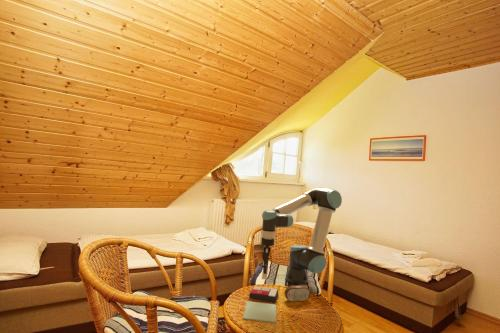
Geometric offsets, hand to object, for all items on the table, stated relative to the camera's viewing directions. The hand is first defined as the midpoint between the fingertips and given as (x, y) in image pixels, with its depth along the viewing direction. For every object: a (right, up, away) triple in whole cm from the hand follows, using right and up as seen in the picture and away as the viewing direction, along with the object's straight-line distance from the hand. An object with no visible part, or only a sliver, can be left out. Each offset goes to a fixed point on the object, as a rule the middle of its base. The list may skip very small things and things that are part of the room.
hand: (264, 274), depth 164 cm
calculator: (-1, -13, 0) cm, 13 cm away
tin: (+18, -14, -2) cm, 23 cm away
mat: (-3, -12, -18) cm, 22 cm away
